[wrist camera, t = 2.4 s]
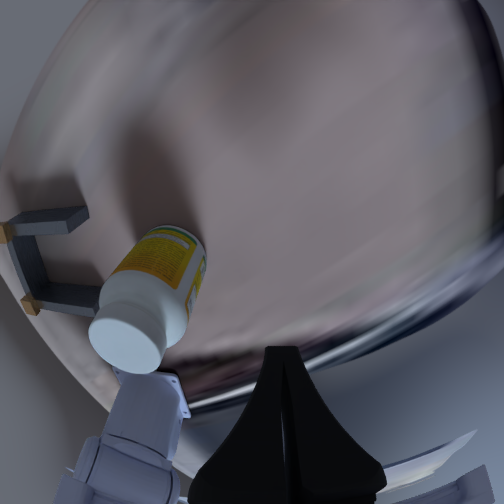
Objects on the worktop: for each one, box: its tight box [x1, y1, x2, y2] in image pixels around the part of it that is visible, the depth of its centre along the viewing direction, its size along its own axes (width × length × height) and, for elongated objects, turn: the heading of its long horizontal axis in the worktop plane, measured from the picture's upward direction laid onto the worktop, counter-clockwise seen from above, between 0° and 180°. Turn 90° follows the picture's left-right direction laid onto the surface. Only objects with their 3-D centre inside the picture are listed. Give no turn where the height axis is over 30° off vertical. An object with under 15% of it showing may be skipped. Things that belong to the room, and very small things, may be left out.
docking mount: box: [0, 206, 102, 318], centre depth 19 cm, size 9×9×4 cm
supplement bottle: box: [88, 225, 207, 374], centre depth 16 cm, size 5×5×10 cm
